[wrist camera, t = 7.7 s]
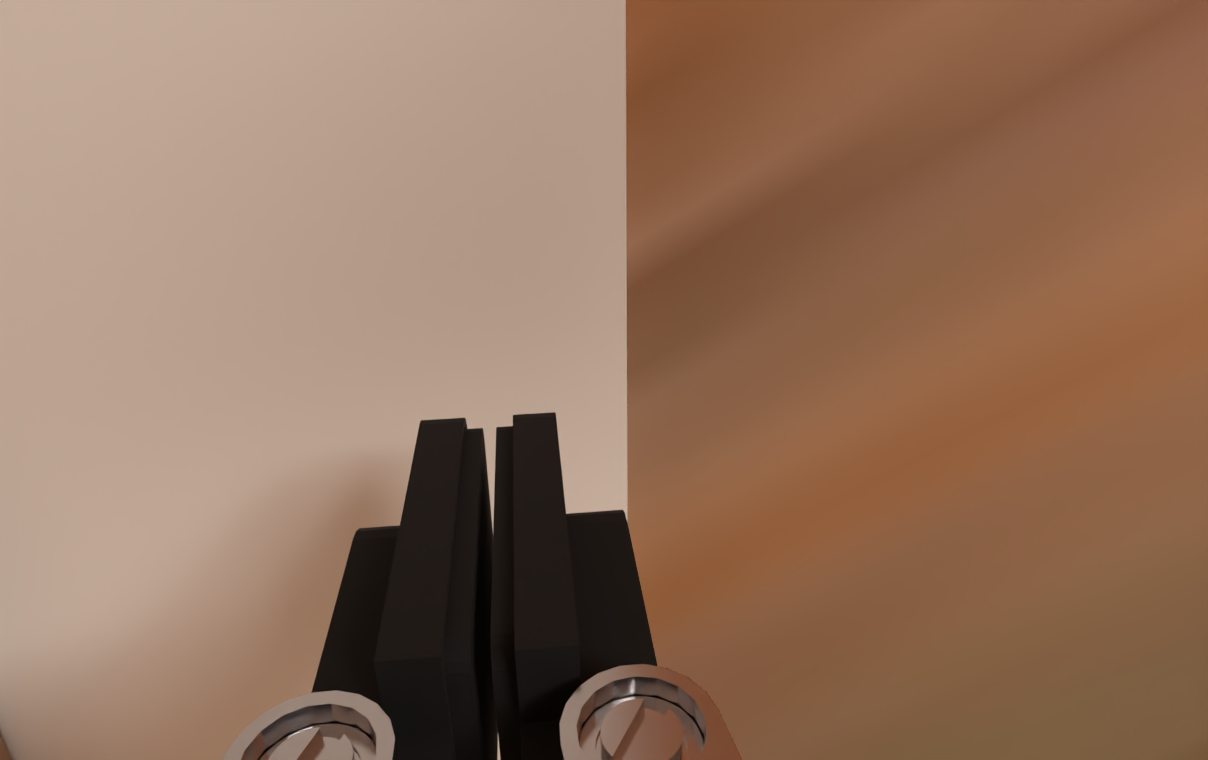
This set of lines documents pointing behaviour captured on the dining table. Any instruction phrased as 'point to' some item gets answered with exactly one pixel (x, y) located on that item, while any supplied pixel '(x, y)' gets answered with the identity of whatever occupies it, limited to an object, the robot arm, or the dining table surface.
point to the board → (276, 324)
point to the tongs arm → (3, 751)
